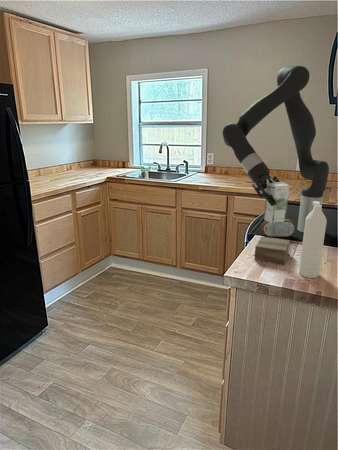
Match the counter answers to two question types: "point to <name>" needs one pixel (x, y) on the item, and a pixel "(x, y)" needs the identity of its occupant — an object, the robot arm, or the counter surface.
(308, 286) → the counter surface
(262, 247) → the walnut block
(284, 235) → the tin
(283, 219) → the syrup box
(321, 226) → the water bottle
